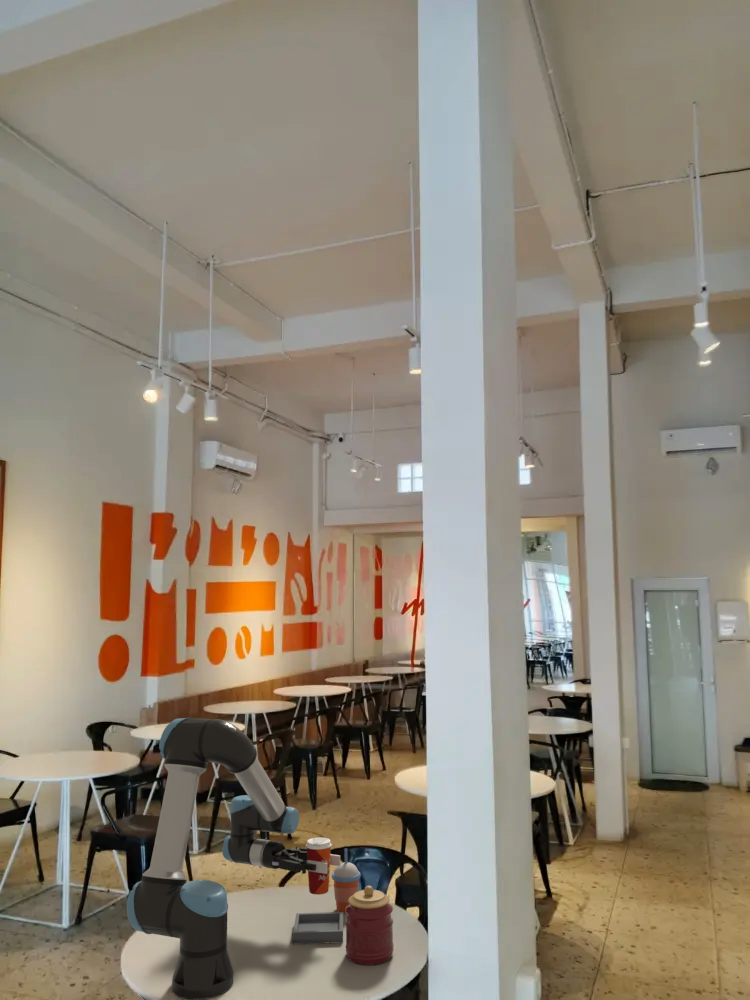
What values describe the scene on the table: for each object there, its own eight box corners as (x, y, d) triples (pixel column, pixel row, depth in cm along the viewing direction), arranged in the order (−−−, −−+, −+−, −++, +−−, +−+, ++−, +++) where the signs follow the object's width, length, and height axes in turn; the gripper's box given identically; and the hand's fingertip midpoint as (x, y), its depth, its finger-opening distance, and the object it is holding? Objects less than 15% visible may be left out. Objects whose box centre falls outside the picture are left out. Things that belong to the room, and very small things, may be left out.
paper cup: (328, 896, 220) (328, 845, 222) (302, 895, 222) (302, 843, 224) (335, 887, 228) (334, 837, 230) (309, 885, 229) (310, 836, 231)
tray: (293, 944, 216) (292, 932, 216) (296, 924, 230) (296, 913, 230) (343, 942, 216) (342, 931, 217) (343, 922, 230) (343, 911, 230)
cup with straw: (366, 907, 241) (365, 846, 244) (350, 917, 234) (349, 854, 236) (342, 902, 246) (342, 842, 249) (326, 911, 239) (325, 850, 241)
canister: (355, 969, 200) (354, 897, 202) (339, 949, 212) (338, 881, 214) (401, 960, 205) (400, 890, 207) (382, 941, 217) (381, 875, 219)
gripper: (286, 857, 242) (350, 867, 231) (248, 877, 225) (315, 889, 214) (286, 832, 243) (349, 841, 232) (248, 850, 226) (315, 861, 215)
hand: (333, 864), depth 223 cm, fingers closed on paper cup, 7 cm apart
